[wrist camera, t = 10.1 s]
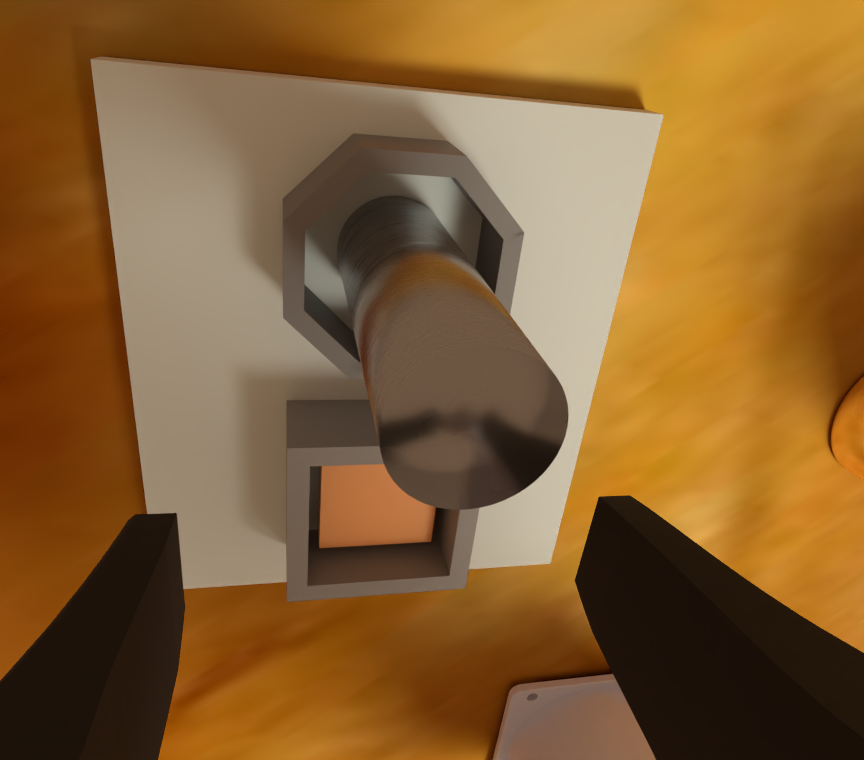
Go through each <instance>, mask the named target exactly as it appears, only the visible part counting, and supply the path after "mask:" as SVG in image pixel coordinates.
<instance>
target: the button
mask: <svg viewBox="0 0 864 760" xmlns="http://www.w3.org/2000/svg"><path fill="white" fill-rule="evenodd" d="M435 510H436V507H434V506H430V505H427V504H424V503H422V502H420V501H418V500H416V499H414V498H412V497H411V496H409V495H408V494H406V493H405V492H404V491H403V490H402V489H400V488H399V487H398V486H397V484H396V483H395V482H394V481H393V480H392V478H391V477H390V475H389V474H388V472H387V470H386V467H385V465H384V464H371V465H340V466H319V484H318V518H317V525H318V539H319V548H333V547H350V546H366V545H383V544H400V543H417V542H431V539H432V532H433V525H434V517H435Z"/></svg>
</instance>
